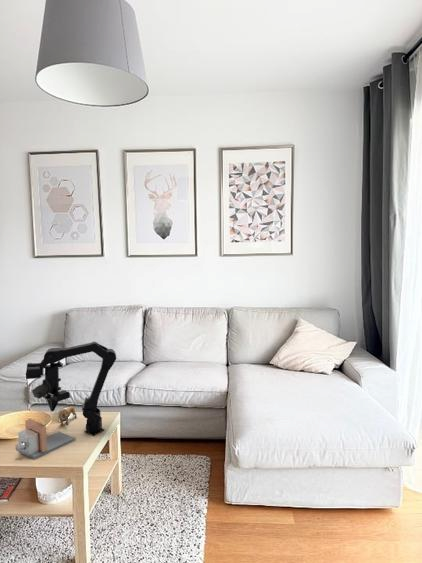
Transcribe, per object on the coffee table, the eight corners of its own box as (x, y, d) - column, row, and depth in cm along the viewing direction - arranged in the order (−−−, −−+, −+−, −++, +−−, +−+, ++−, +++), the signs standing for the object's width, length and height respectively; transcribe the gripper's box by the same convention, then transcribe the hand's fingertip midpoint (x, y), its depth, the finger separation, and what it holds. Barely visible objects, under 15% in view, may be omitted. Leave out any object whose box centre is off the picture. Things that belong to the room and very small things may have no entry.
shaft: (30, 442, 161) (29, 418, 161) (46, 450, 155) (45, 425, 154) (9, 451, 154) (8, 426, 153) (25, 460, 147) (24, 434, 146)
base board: (59, 433, 173) (58, 431, 172) (75, 440, 166) (74, 438, 166) (18, 451, 157) (18, 448, 157) (34, 459, 150) (34, 456, 150)
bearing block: (28, 446, 158) (27, 428, 158) (38, 451, 154) (38, 433, 153) (18, 450, 155) (18, 432, 155) (29, 456, 150) (28, 437, 150)
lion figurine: (67, 429, 177) (66, 410, 177) (56, 429, 177) (55, 410, 177) (78, 416, 192) (77, 399, 191) (68, 416, 192) (67, 399, 191)
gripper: (23, 377, 166) (23, 412, 167) (47, 385, 156) (47, 422, 156) (46, 371, 175) (47, 404, 176) (70, 379, 165) (71, 413, 166)
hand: (52, 411), depth 168 cm, fingers closed
